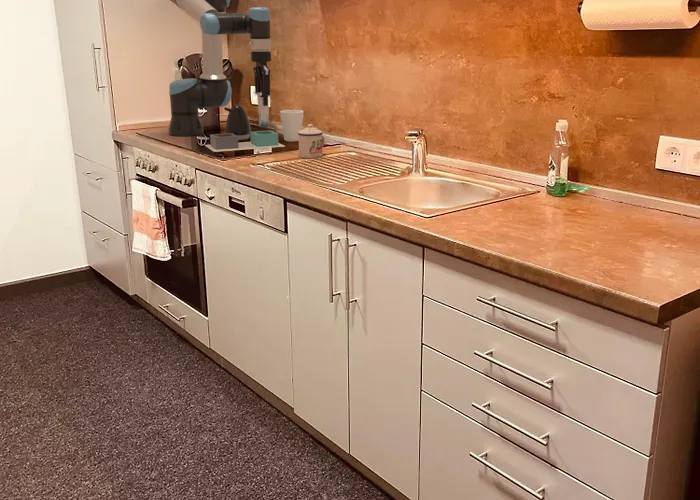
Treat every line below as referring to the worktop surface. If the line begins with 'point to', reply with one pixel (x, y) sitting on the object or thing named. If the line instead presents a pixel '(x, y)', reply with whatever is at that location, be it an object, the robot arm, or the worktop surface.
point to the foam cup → (291, 124)
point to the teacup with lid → (310, 142)
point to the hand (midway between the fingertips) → (263, 113)
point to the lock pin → (262, 118)
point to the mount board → (231, 143)
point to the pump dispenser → (238, 122)
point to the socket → (264, 138)
